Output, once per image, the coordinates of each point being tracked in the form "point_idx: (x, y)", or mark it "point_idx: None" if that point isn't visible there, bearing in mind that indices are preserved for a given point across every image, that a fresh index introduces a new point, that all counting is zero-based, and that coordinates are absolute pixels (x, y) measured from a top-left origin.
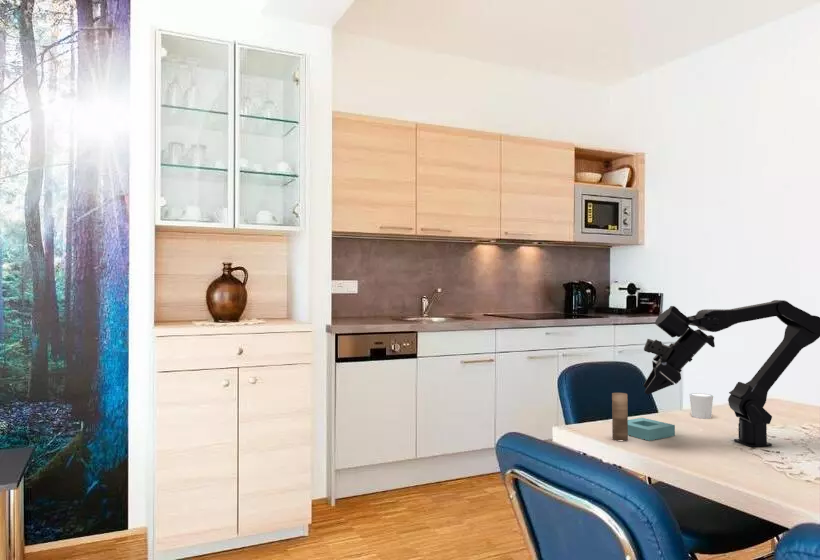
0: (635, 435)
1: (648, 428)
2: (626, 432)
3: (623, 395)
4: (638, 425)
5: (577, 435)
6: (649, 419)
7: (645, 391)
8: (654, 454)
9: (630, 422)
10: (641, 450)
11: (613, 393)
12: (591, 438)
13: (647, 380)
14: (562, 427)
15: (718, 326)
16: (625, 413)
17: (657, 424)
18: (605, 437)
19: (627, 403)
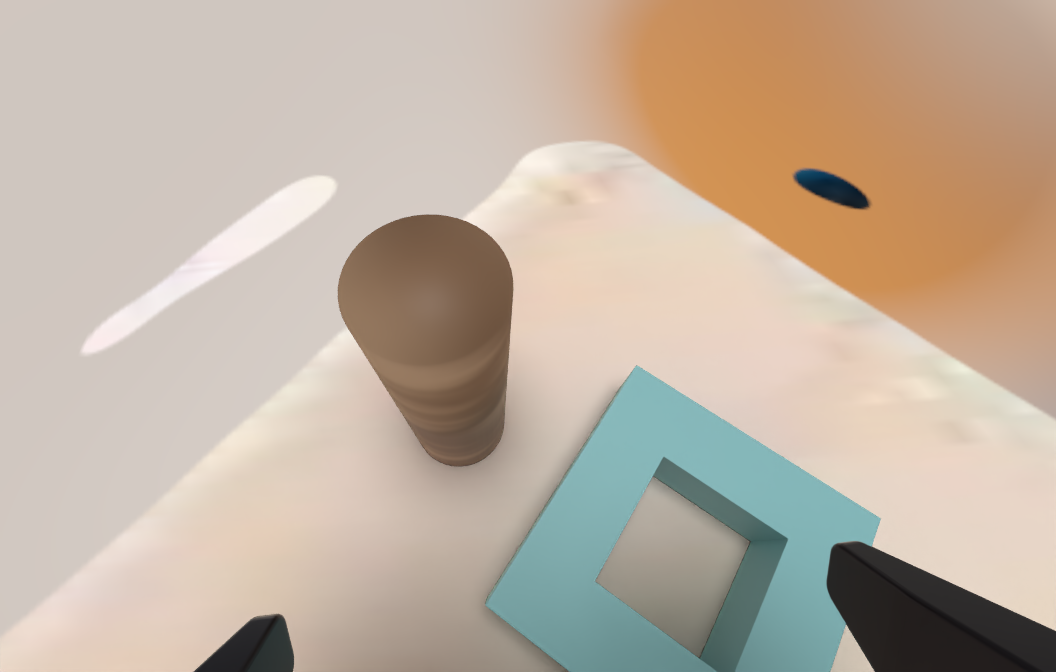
0: (547, 503)
1: (533, 599)
2: (433, 450)
3: (349, 329)
4: (602, 515)
5: None
6: None
7: (240, 634)
8: (130, 669)
9: (669, 452)
10: (223, 571)
11: (430, 226)
12: None
13: (942, 630)
14: (598, 151)
15: None
16: (402, 410)
17: (737, 659)
18: None
19: (434, 399)
